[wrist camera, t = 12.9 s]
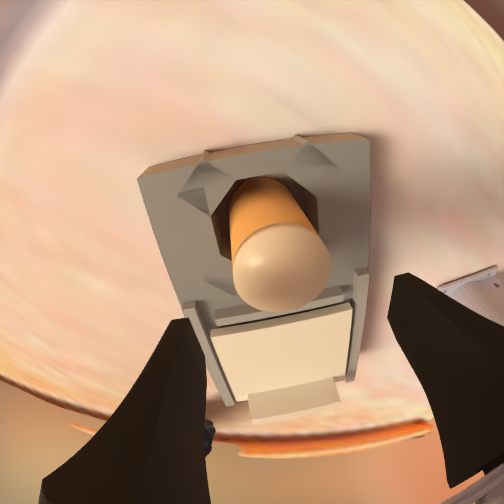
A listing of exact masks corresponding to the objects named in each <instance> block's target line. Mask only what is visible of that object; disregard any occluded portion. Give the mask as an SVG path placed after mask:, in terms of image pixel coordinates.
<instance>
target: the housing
mask: <svg viewBox="0 0 504 504" xmlns="http://www.w3.org/2000/svg"><path fill="white" fill-rule="evenodd" d="M279 172H284V173H285V174H286V175H288V176H289V177H291V178H292V179H293V180H295V181H296V182H297V183H299V184H300V185H301V186H303V187H304V188H305V192H306V203H307V215H308V220H309V221H310V223H311V224H312V226H313V228H314V229H315V231H316V232H317V234H318V235H319V237H320V238H321V240H322V242H323V243H324V245H325V246H326V248H327V250H328V252H329V254H330V258H331V274H330V277H329V280H328V282H327V284H326V286H325V288H324V289H323V290H322V292H321V293H320V294H319V295H318V296H317V297H316V298H315V299H314V300H312V301H311V302H309V303H308V304H306V305H304V306H302V307H300V308H298V309H295V310H291V311H287V312H276V313H274V312H266V311H262V310H258V309H256V308H254V307H252V306H250V305H249V304H247V303H246V302H245V301H244V300H243V299H242V298H241V297H240V296H239V294H238V293H237V291H236V288H235V285H234V280H233V268H232V254H231V240H229V239H227V238H226V237H224V236H222V235H220V232H219V228H218V223H217V219H216V215H215V209H216V208H217V206H218V205H219V203H220V202H221V201H222V199H223V198H224V196H225V195H226V193H227V192H228V191H229V189H230V188H231V186H232V185H233V184H234V182H235V181H236V180H239V179H244V178H250V177H255V176H261V175H267V174H273V173H279ZM137 181H138V184H139V187H140V191H141V194H142V197H143V201H144V204H145V207H146V210H147V213H148V216H149V220H150V223H151V226H152V229H153V232H154V235H155V238H156V240H157V243H158V246H159V249H160V252H161V255H162V257H163V260H164V263H165V266H166V268H167V271H168V274H169V276H170V279H171V282H172V284H173V287H174V289H175V292H176V295H177V297H178V300H179V302H180V305H181V307H182V312H183V314H184V316H185V318H188V317H189V319H190V321H191V324H192V326H193V329H194V331H195V334H196V336H197V338H198V341H199V343H200V345H201V348H202V350H203V352H204V355H205V361H206V366H207V368H208V371H209V373H210V375H211V377H212V379H213V381H214V383H215V385H216V387H217V389H218V391H219V393H220V395H221V397H222V399H223V401H224V403H225V405H226V406H234V405H235V396H234V394H233V392H232V389H231V387H230V385H229V382H228V380H227V378H226V375H225V373H224V370H223V368H222V365H221V363H220V360H219V358H218V355H217V353H216V350H215V348H214V345H213V343H212V340H211V338H210V333H211V329H218V328H224V327H230V326H236V325H242V324H248V323H253V322H259V321H264V320H270V319H275V318H280V317H285V316H290V315H295V314H300V313H304V312H309V311H313V310H318V309H322V308H327V307H331V306H336V305H340V304H344V303H348V302H349V303H350V305H351V307H352V309H353V310H352V321H351V331H350V340H349V349H348V356H347V364H346V371H345V378H344V379H345V382H346V383H347V382H351V381H354V379H355V374H356V369H357V364H358V358H359V353H360V347H361V340H362V334H363V327H364V320H365V312H366V304H367V296H368V286H369V276H370V273H369V272H368V260H369V243H370V218H371V167H370V142H369V139H368V138H365V137H362V136H359V135H356V134H353V133H338V134H327V135H317V136H308V137H299V136H297V135H294V137H293V138H292V139H284V140H277V141H271V142H264V143H258V144H252V145H246V146H240V147H235V148H230V149H224V150H219V151H214V152H210V153H209V152H208V151H206V150H204V152H203V153H202V154H200V155H196V156H191V157H187V158H183V159H179V160H174V161H170V162H166V163H162V164H159V165H155V166H151V167H148V168H147V169H146V170H145V171H144V172H143V173H142V174H141V175H140V176H139V177H138V178H137Z"/></svg>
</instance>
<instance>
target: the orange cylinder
mask: <svg viewBox="0 0 504 504" xmlns="http://www.w3.org/2000/svg"><path fill="white" fill-rule="evenodd" d="M229 222H230V238H231V254H232V268H233V280H234V285H235V288H236V291H237V293H238V294H239V296H240V297H241V298H242V299H243V300H244V301H245V302H246V303H247V304H249V305H250V306H252V307H254V308H256V309H258V310H262V311H266V312H274V313H276V312H287V311H291V310H295V309H298V308H300V307H302V306H304V305H306V304H308V303H309V302H311V301H312V300H314V299H315V298H316V297H317V296H318V295H319V294H320V293H321V292H322V290H323V289H324V288H325V286H326V284H327V282H328V280H329V277H330V274H331V258H330V254H329V252H328V250H327V248H326V246H325V245H324V243H323V242H322V240H321V238H320V237H319V235H318V234H317V232H316V231H315V229H314V228H313V226H312V224H311V223H310V221H309V220H308V218H307V217H306V215H305V214H304V212H303V211H302V209H301V208H300V206H299V205H298V203H297V202H296V200H295V199H294V197H293V196H292V194H291V193H290V192H289V190H288V189H287V188H286V187H285V186H284V185H283V184H282V183H280V182H278V181H276V180H274V179H270V178H256V179H252V180H249V181H247V182H245V183H244V184H242V185H241V186H240V187H239V188H238V189H237V190H236V191H235V192H234V194H233V195H232V197H231V200H230V203H229Z"/></svg>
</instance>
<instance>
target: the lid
mask: <svg viewBox="0 0 504 504" xmlns="http://www.w3.org/2000/svg"><path fill="white" fill-rule="evenodd" d="M352 310H353V309H352V307H351V305H350V303H349V302H348V303H344V304H340V305H336V306H331V307H327V308H322V309H318V310H313V311H309V312H304V313H300V314H295V315H290V316H285V317H280V318H275V319H270V320H264V321H259V322H253V323H248V324H242V325H236V326H230V327H224V328H218V329H211V333H210V338H211V340H212V343H213V345H214V348H215V350H216V353H217V355H218V358H219V360H220V363H221V365H222V368H223V370H224V373H225V375H226V378H227V380H228V382H229V385H230V387H231V389H232V392H233V394H234V396H235V399H236V401H237V402H238V401H245V400H248V402H249V411H250V420H251V422H252V425H256V424H263V423H269V422H275V421H280V420H286V419H291V418H296V417H300V416H305V415H310V414H314V413H318V412H322V411H326V410H330V409H334V408H338V407H340V403H341V400H340V397H339V394H338V391H337V388H336V386H335V383H334V382H338V381H341V380H344V378H345V371H346V364H347V356H348V349H349V340H350V331H351V321H352Z"/></svg>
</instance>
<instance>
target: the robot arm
mask: <svg viewBox="0 0 504 504" xmlns="http://www.w3.org/2000/svg"><path fill="white" fill-rule="evenodd" d="M496 273H497V268H496V267H492V268H490V269H487V270H484V271H482V272H479V273H476V274H474V275H471V276H468V277H465V278H463V279H460V280H457V281H454V282H451V283H448V284H445V285H442V286H440V287H438V288H437V289H436V288H435V287H433V286H431V285H430V284H428V283H426V282H425V281H423V280H421V279H420V278H418V277H416V276H414V275H412V274H410V273H405V274H401V275H397V276H395V277H394V283H393V289H392V295H391V301H390V306H389V311H388V317H387V318H388V321H389V323H390V326H391V328H392V331H393V333H394V335H395V338H396V340H397V342H398V344H399V345H400V347H401V349H402V351H403V352H404V354H405V356H406V358H407V360H408V361H409V363H410V365H411V367H412V368H413V370H414V372H415V374H416V376H417V377H418V379H419V381H420V383H421V385H422V387H423V389H424V391H425V393H426V396H427V398H428V401H429V404H430V406H431V409H432V412H433V415H434V418H435V421H436V425H437V428H438V431H439V435H440V440H441V444H442V448H443V453H444V459H445V467H446V475H447V482H448V484H449V487H450V488H453V487H455V486H456V485H458V484H460V483H462V482H464V481H465V480H467V479H469V478H470V477H472V476H474V475H475V474H477V473H479V472H480V471H481V470H483V472H484V474H485V476H484V477H482V478H481V479H479V480H478V481H476V482H475V483H473V484H472V485H470V486H469V487H467V488H466V489H464V490H462V491H461V492H459V493H457V494H456V495H454V496H452V497H451V498H449V499H447V500H445V501H444V502H442V503H440V504H472V503H474V502H475V504H504V283H503V282H502V281H501V280H500V279H499V278H498V277H497V276H496ZM206 389H207V376H206V361H205V355H204V352H203V350H202V348H201V345H200V343H199V341H198V338H197V336H196V334H195V331H194V329H193V326H192V324H191V321H190V319H189V317H188V318H181V319H174V320H171V322H170V323H169V325H168V327H167V329H166V330H165V332H164V334H163V336H162V338H161V340H160V341H159V343H158V345H157V347H156V349H155V350H154V352H153V354H152V356H151V357H150V359H149V361H148V362H147V364H146V366H145V367H144V369H143V371H142V372H141V374H140V376H139V377H138V379H137V380H136V382H135V383H134V385H133V386H132V388H131V390H130V391H129V393H128V394H127V396H126V397H125V398H124V400H123V401H122V403H121V404H120V405H119V407H118V408H117V409H116V410H115V412H114V413H113V414H112V416H111V417H110V418H109V419H108V420H107V422H106V423H105V424H104V425H103V426H102V427H101V428H100V430H99V431H98V432H97V433H96V434H95V435H94V436H93V437H92V438H91V440H90V441H89V442H87V444H85V446H83V447H82V448H81V449H80V450H79V451H78V452H77V453H76V454H75V455H74V456H73V457H71V458H70V459H69V460H68V461H67V462H65V463H64V464H63V465H62V466H60V467H59V468H58V469H56V470H55V471H54V472H52V473H51V474H50V475H48V476H47V477H45V478H44V479H43V480H42V485H41V490H40V496H39V503H38V504H211V501H210V495H209V488H208V480H207V472H206V461H205V450H204V429H205V408H206Z"/></svg>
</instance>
